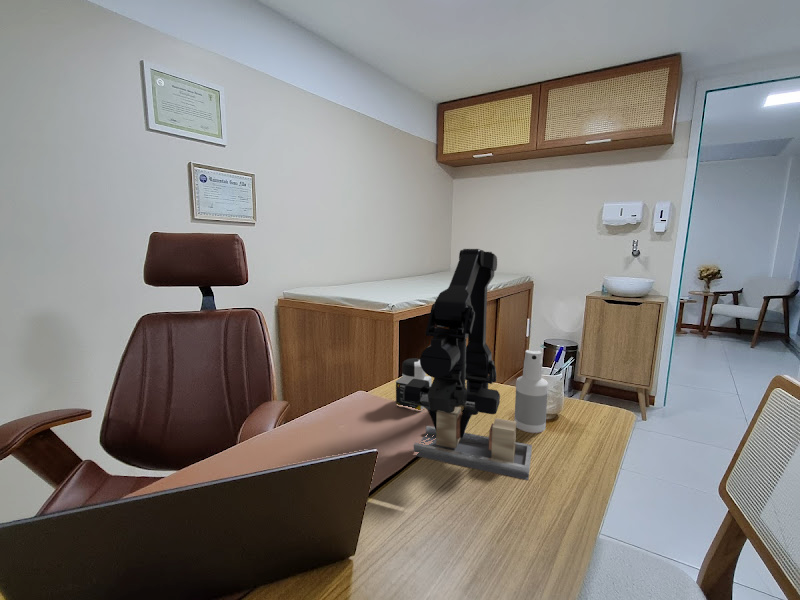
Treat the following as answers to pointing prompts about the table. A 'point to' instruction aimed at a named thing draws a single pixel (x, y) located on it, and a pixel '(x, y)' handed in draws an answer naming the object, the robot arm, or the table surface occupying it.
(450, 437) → the beech finger
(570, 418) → the table surface
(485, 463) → the grey tray
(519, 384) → the spray bottle
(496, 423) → the beige upright rectangular block
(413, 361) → the medicine bottle
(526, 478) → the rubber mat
